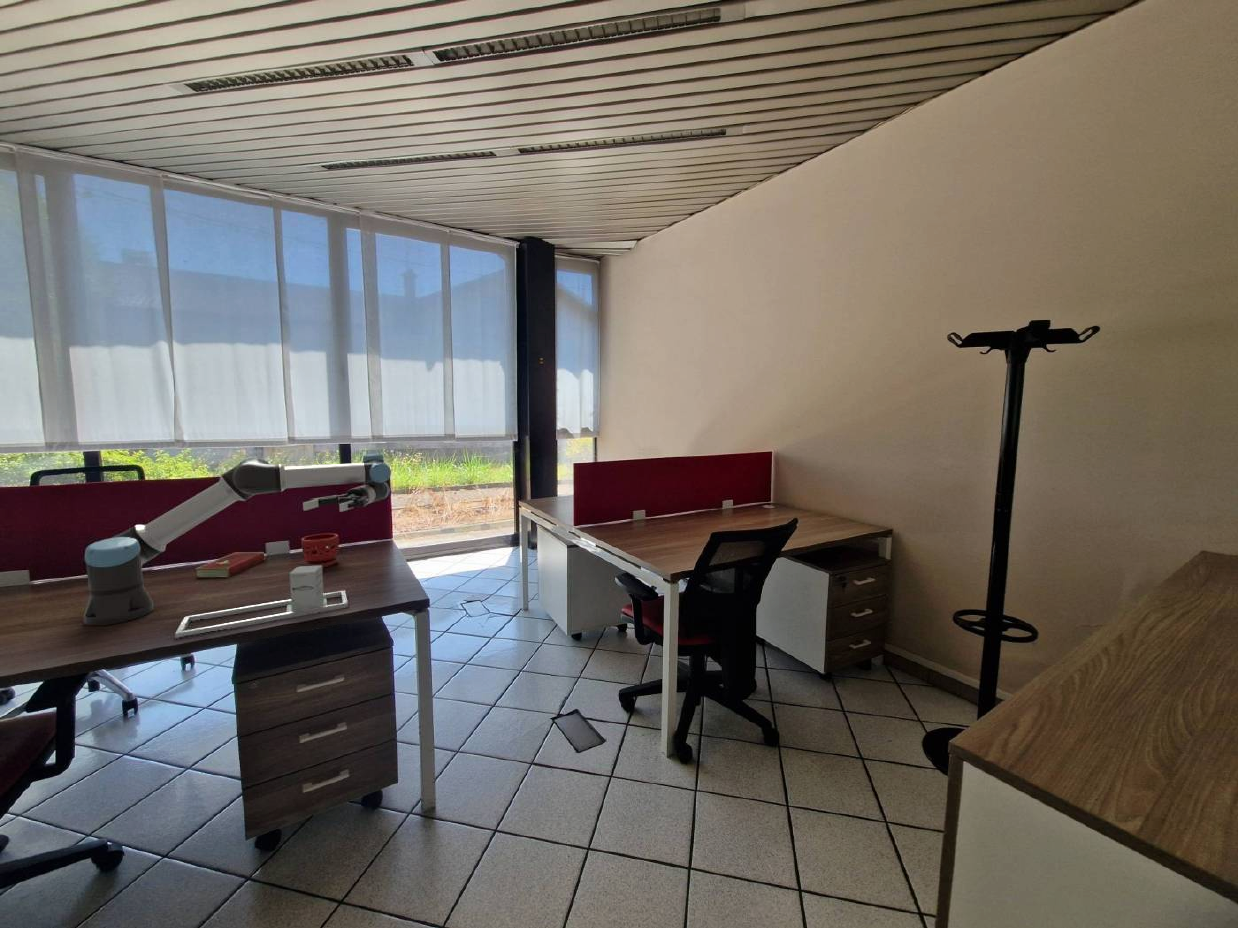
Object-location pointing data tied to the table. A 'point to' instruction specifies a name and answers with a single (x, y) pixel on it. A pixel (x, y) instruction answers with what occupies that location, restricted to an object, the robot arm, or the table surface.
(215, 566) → the hardcover book
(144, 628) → the table surface
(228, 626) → the rail track
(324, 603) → the pad
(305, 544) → the plant pot
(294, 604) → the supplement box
